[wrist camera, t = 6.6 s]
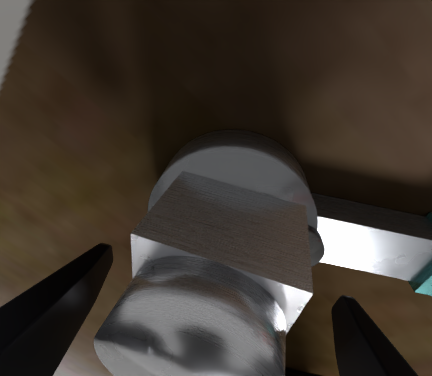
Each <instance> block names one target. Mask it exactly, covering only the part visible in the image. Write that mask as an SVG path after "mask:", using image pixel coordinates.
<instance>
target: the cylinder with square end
mask: <svg viewBox="0 0 432 376" xmlns="http://www.w3.org/2000/svg"><path fill="white" fill-rule="evenodd" d="M131 251H132V272H133V279H132V281H131V282H130V284H129V285H128V287H127V288H126V290H125V291H124V293H123V294H122V296H121V297H120V299H119V300H118V302H117V303H116V305H115V306H114V308H113V309H112V311H111V312H110V314H109V315H108V317H107V318H106V320H105V321H104V323H103V324H102V326H101V327H100V329H99V330H98V332H97V334H96V336H95V338H94V348H95V350H96V353H97V355H98V357H99V359H100V360H101V362H102V363H103V364H104V366H105V367H106V368H107V369H108V370H109V371H110V372H111V373H112V374H113V375H114V376H285V351H286V334H287V333H288V331H289V330H290V328H291V327H292V325H293V324H294V322H295V321H296V319H297V318H298V316H299V314H300V313H301V311H302V310H303V308H304V307H305V305H306V304H307V302H308V301H309V299H310V298H311V296H312V295H313V285H312V272H311V260H310V247H309V234H308V222H307V209H306V206H305V205H301V204H298V203H294V202H291V201H287V200H284V199H280V198H277V197H273V196H270V195H266V194H263V193H259V192H256V191H252V190H249V189H245V188H242V187H238V186H235V185H231V184H228V183H224V182H221V181H217V180H214V179H210V178H207V177H203V176H199V175H196V174H192V173H189V172H185V171H182V172H181V173H180V174H179V176H178V177H177V178H176V179H175V180H174V182H173V183H172V184H171V185H170V187H169V188H168V189H167V190H166V191H165V193H164V194H163V195H162V196H161V197H160V199H159V200H158V201H157V202H156V203H155V205H154V206H153V207H152V208H151V210H150V211H149V212H148V213H147V214H146V216H145V217H144V218H143V219H142V220H141V222H140V223H139V224H138V225H137V226H136V228H135V229H134V230H133V231H132V233H131Z"/></svg>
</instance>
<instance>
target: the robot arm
mask: <svg viewBox="0 0 432 376" xmlns="http://www.w3.org/2000/svg"><path fill="white" fill-rule="evenodd" d="M112 263H113V253H112V246H111V245H109V244H105V243H100V244H98V245H96V246H95V247H93V248H92V249H90V250H88V251H87V252H85V253H84V254H82V255H81V256H79V257H78V258H76V259H74V260H73V261H71V262H70V263H68V264H67V265H65V266H64V267H62V268H60V269H59V270H57V271H56V272H54V273H53V274H51V275H50V276H48V277H46V278H45V279H43V280H42V281H40V282H39V283H37V284H36V285H34V286H32V287H31V288H29V289H28V290H26V291H25V292H23V293H22V294H20V295H18V296H17V297H15V298H14V299H12V300H11V301H9V302H8V303H6V304H4V305H3V306H1V307H0V376H53V374H54V373H55V371H56V369H57V367H58V366H59V364H60V362H61V360H62V359H63V357H64V355H65V354H66V352H67V350H68V348H69V347H70V345H71V343H72V341H73V340H74V338H75V336H76V334H77V333H78V331H79V329H80V328H81V326H82V324H83V322H84V321H85V319H86V317H87V315H88V314H89V312H90V310H91V308H92V307H93V305H94V303H95V301H96V299H97V297H98V295H99V292H100V290H101V288H102V286H103V283H104V281H105V279H106V277H107V274H108V272H109V270H110V268H111V265H112ZM332 322H333V333H334V343H335V353H336V359H337V365H338V370H339V375H340V376H418V375H417V374H416V372H415V371H414V370H413V369H412V367H411V366H410V365H409V364H408V363H407V361H406V360H405V359H404V358H403V357H402V355H401V354H400V353H399V352H398V351H397V349H396V348H395V347H394V346H393V344H392V343H391V342H390V341H389V340H388V338H387V337H386V336H385V335H384V334H383V332H382V331H381V330H380V329H379V328H378V326H377V325H376V324H375V323H374V321H373V320H372V319H371V318H370V317H369V315H368V314H367V313H366V312H365V311H364V309H363V308H362V307H361V306H360V305H359V303H358V302H357V301H356V300H355V299H354V298H353V297H349V296H345V295H342V296H340V298H339V299H338V300H337V301H336V303H335V304H334V305H333V307H332ZM285 376H317V375H313V374H308V373H304V372H299V371H295V370H290V369H286V368H285Z"/></svg>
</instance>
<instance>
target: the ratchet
mask: <svg viewBox="0 0 432 376" xmlns="http://www.w3.org/2000/svg"><path fill="white" fill-rule="evenodd" d="M182 171H185V172H189V173H192V174H196V175H199V176H203V177H207V178H210V179H214V180H217V181H221V182H224V183H228V184H231V185H235V186H238V187H242V188H245V189H249V190H252V191H256V192H259V193H263V194H266V195H270V196H273V197H277V198H280V199H284V200H287V201H291V202H294V203H298V204H301V205H305V206H306V209H307V222H308V234H309V247H310V260H311V267H312V266H314V265H316V264H317V263H319V262H324V263H329V264H334V265H338V266H343V267H348V268H352V269H357V270H362V271H366V272H371V273H376V274H380V275H385V276H390V277H394V278H399V279H404V280H408V282H409V284H410V285H411V287H412V289H413V290H414V292H417V293H422V294H427V295H431V296H432V213H431V212H429V213H428V214H427V216H421V215H416V214H411V213H407V212H402V211H397V210H392V209H387V208H383V207H378V206H373V205H368V204H363V203H359V202H354V201H349V200H344V199H339V198H335V197H330V196H325V195H320V194H315V193H311V192H310V189H309V186H308V183H307V180H306V177H305V174H304V172H303V170H302V168H301V166H300V164H299V163H298V161H297V160H296V158H295V157H294V156H293V155H292V154H291V153H290V152H289V151H288V150H287V149H286V148H285V147H283V146H282V145H281V144H279V143H278V142H276V141H274V140H273V139H271V138H269V137H266V136H264V135H261V134H258V133H255V132H251V131H245V130H219V131H214V132H210V133H206V134H204V135H201V136H199V137H197V138H195V139H193V140H191V141H190V142H188V143H187V144H186V145H184V146H183V147H182V148H181V149H180V150H179V151H178V152H177V153H176V154H175V155H174V157H173V158H172V160H171V161H170V163H169V164H168V166H167V168H166V169H165V171H164V172H163V174H162V175H161V177H160V179H159V180H158V182H157V183H156V185H155V186H154V189H153V191H152V193H151V195H150V199H149V203H148V212H149V211H150V210H151V208H152V207H153V206H154V205H155V203H156V202H157V201H158V200H159V199H160V197H161V196H162V195H163V194H164V193H165V191H166V190H167V189H168V188H169V187H170V185H171V184H172V183H173V182H174V180H175V179H176V178H177V177H178V176H179V174H180V173H181V172H182Z"/></svg>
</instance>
